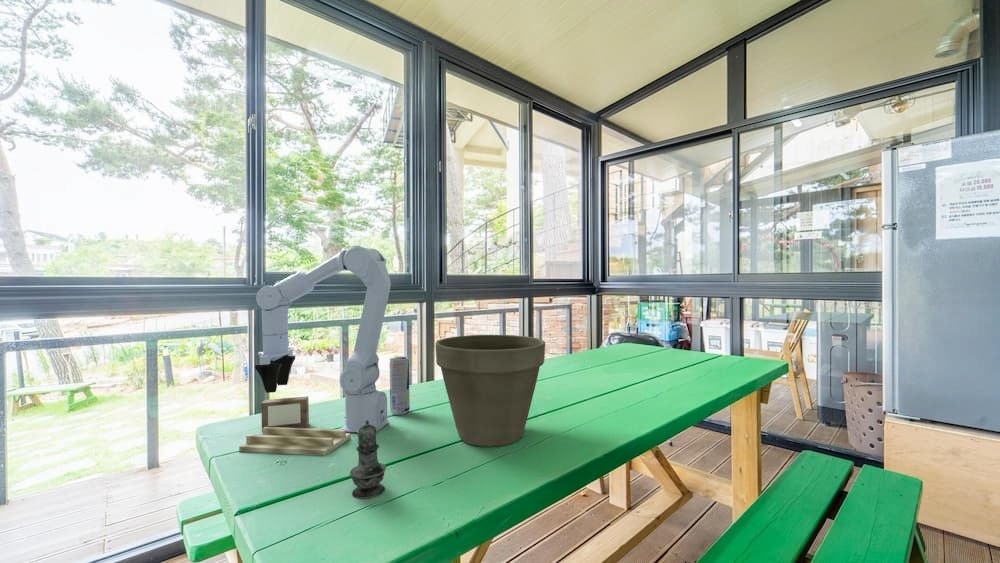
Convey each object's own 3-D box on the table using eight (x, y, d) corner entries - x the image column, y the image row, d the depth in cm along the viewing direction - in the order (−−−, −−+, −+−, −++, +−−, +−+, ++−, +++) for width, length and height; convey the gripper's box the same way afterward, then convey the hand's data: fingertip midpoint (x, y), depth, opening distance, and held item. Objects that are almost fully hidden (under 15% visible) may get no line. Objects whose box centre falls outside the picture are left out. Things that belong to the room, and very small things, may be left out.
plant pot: (569, 433, 97) (567, 338, 97) (494, 469, 79) (492, 352, 79) (490, 412, 114) (489, 331, 114) (414, 437, 96) (412, 342, 96)
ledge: (350, 437, 97) (350, 426, 97) (325, 455, 87) (325, 443, 87) (271, 434, 100) (271, 423, 100) (239, 451, 90) (239, 439, 90)
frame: (308, 423, 108) (308, 396, 108) (306, 427, 105) (306, 399, 105) (265, 428, 105) (264, 399, 105) (261, 432, 102) (261, 403, 102)
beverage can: (412, 410, 117) (411, 356, 117) (406, 416, 112) (405, 359, 112) (394, 410, 118) (393, 356, 118) (387, 415, 113) (386, 359, 113)
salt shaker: (355, 484, 74) (353, 415, 74) (389, 482, 75) (388, 413, 75) (345, 501, 68) (344, 426, 68) (383, 498, 69) (381, 424, 69)
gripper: (270, 331, 113) (271, 382, 113) (245, 338, 99) (246, 396, 98) (298, 330, 114) (299, 381, 114) (277, 337, 99) (278, 394, 99)
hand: (277, 388), depth 106 cm, fingers open, 7 cm apart
